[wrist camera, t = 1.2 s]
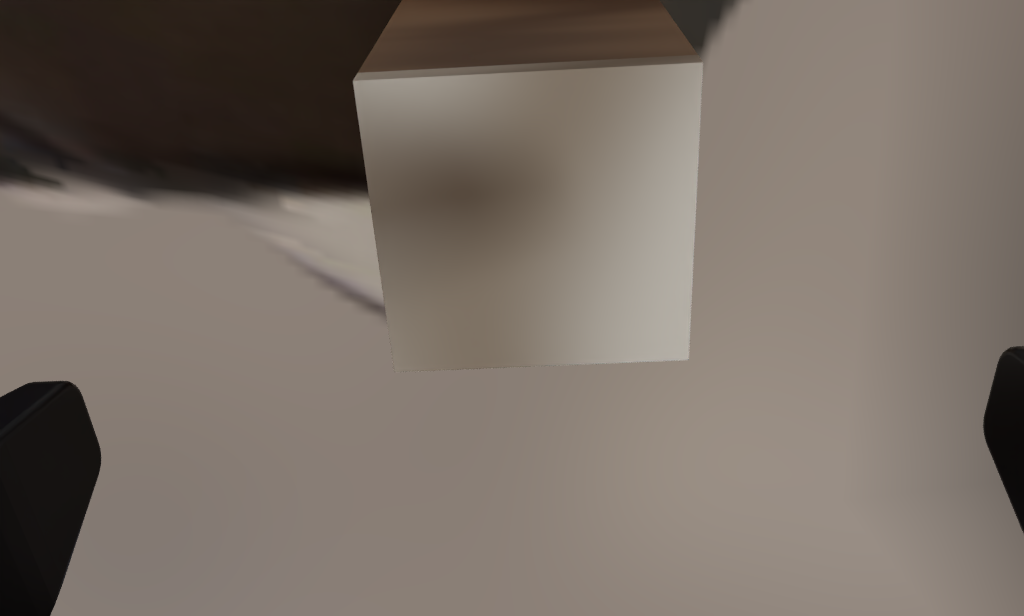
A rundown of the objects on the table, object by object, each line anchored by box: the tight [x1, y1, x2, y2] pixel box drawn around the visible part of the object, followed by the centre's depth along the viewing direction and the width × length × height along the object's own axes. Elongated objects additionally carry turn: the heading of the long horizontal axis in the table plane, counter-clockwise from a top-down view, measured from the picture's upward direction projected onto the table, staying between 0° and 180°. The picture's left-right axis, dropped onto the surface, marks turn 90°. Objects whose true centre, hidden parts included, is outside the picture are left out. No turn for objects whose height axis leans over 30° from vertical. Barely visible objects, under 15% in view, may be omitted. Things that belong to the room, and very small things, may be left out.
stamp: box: [353, 0, 703, 372], centre depth 16 cm, size 4×4×7 cm
